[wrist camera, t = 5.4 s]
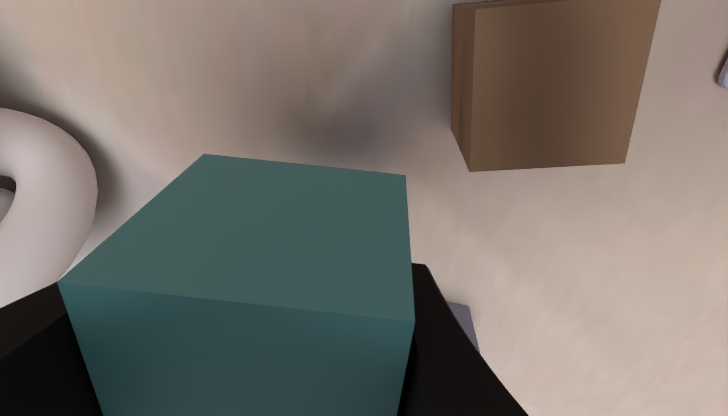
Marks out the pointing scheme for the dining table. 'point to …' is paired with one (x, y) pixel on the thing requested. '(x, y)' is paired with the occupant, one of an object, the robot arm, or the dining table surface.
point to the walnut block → (548, 80)
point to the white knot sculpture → (41, 203)
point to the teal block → (251, 295)
